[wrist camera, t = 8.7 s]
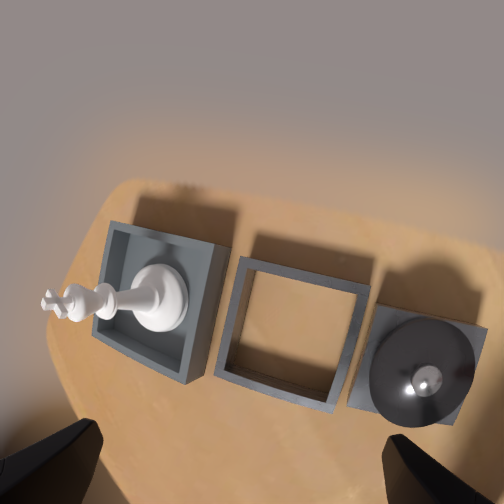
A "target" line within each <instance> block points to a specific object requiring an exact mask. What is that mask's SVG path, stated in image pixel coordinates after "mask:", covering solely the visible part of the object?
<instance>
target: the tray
mask: <svg viewBox="0 0 504 504" xmlns="http://www.w3.org/2000/svg"><path fill="white" fill-rule="evenodd" d="M230 253H231V248H229V247H225V246H221V245H217V244H213V243H209V242H204V241H200V240H195V239H191V238H187V237H182V236H178V235H173V234H169V233H164V232H160V231H156V230H151V229H147V228H142V227H138V226H134V225H129V224H125V223H120V222H116V221H110V226H109V230H108V235H107V239H106V244H105V249H104V254H103V259H102V265H101V270H100V276H99V282H98V285H99V284H101V283H108V284H110V285H111V286H112V287H113V288H114V290H115V291H116V292H120V291H125V290H130V289H131V285H132V282H133V280H134V278H135V276H136V275H137V273H138V272H139V271H140V270H141V269H143V268H144V267H146V266H149V265H154V264H166V265H169V266H171V267H172V268H174V269H175V270H176V271H177V272H178V273H179V274H180V275H181V276H182V278H183V280H184V282H185V284H186V287H187V291H188V309H187V312H186V315H185V317H184V319H183V321H182V322H181V323H180V324H179V325H178V326H177V327H176V328H175V329H173V330H170V331H167V332H155V331H151V330H149V329H147V328H145V327H144V326H143V325H141V324H140V323H139V321H138V320H137V319H136V317H135V315H134V313H133V311H132V310H122V309H117V312H116V314H115V315H114V317H113V318H111V319H109V320H105V319H102V318H100V317H98V316H97V315H96V313H94V318H93V327H92V336H93V337H95V338H97V339H98V340H100V341H102V342H103V343H105V344H107V345H108V346H110V347H112V348H114V349H115V350H117V351H119V352H121V353H123V354H124V355H126V356H128V357H130V358H132V359H134V360H136V361H137V362H139V363H141V364H143V365H145V366H147V367H149V368H151V369H153V370H155V371H157V372H159V373H161V374H163V375H165V376H167V377H169V378H171V379H173V380H176V381H178V382H180V383H182V384H184V385H186V384H188V383H190V382H192V381H194V380H196V379H198V378H200V377H201V376H203V375H204V372H205V367H206V362H207V357H208V352H209V348H210V343H211V338H212V334H213V329H214V324H215V320H216V315H217V311H218V306H219V302H220V297H221V293H222V288H223V284H224V279H225V275H226V270H227V266H228V261H229V257H230Z"/></svg>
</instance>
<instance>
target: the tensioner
mask: <svg viewBox="0 0 504 504" xmlns="http://www.w3.org/2000/svg"><path fill="white" fill-rule="evenodd" d="M256 270H257V271H262V272H266V273H270V274H274V275H278V276H282V277H286V278H290V279H295V280H299V281H303V282H307V283H311V284H315V285H320V286H324V287H328V288H332V289H337V290H341V291H345V292H350V293H354V294H358V295H357V299H356V303H355V307H354V311H353V315H352V319H351V323H350V326H349V330H348V334H347V337H346V341H345V344H344V348H343V351H342V354H341V358H340V361H339V364H338V367H337V371H336V374H335V377H334V380H333V383H332V386H331V389H330V392H329V394H328V393H324V392H321V391H317V390H313V389H310V388H306V387H303V386H299V385H296V384H292V383H289V382H286V381H283V380H279V379H276V378H273V377H270V376H267V375H264V374H261V373H258V372H255V371H252V370H249V369H246V368H243V367H240V366H237V365H235V364H234V361H235V357H236V353H237V349H238V344H239V340H240V336H241V332H242V327H243V323H244V319H245V314H246V310H247V306H248V302H249V297H250V293H251V289H252V284H253V280H254V276H255V271H256ZM370 288H371V286H370V285H365V284H361V283H357V282H352V281H348V280H344V279H339V278H335V277H330V276H326V275H322V274H317V273H313V272H309V271H304V270H300V269H296V268H291V267H287V266H283V265H278V264H274V263H270V262H266V261H261V260H257V259H253V258H248V257H243V256H240V259H239V264H238V268H237V273H236V277H235V281H234V286H233V290H232V295H231V299H230V303H229V308H228V312H227V317H226V321H225V326H224V330H223V335H222V339H221V344H220V348H219V353H218V357H217V362H216V366H215V371H214V376H217V377H219V378H222V379H224V380H227V381H230V382H232V383H235V384H238V385H240V386H243V387H246V388H249V389H252V390H254V391H257V392H260V393H263V394H266V395H269V396H272V397H275V398H278V399H282V400H285V401H288V402H291V403H295V404H298V405H301V406H305V407H308V408H312V409H315V410H319V411H323V412H326V413H330V414H333V411H334V408H335V406H336V403H337V400H338V397H339V395H340V392H341V389H342V386H343V383H344V380H345V377H346V374H347V371H348V368H349V364H350V361H351V358H352V355H353V351H354V348H355V345H356V341H357V338H358V334H359V331H360V327H361V324H362V320H363V316H364V312H365V308H366V304H367V300H368V296H369V292H370ZM487 331H488V329H487V328H484V327H482V326H479V325H477V324H472V323H467V322H462V321H458V320H453V319H448V318H444V317H439V316H434V315H430V314H425V313H421V312H416V311H412V310H407V309H403V308H398V307H394V306H389V305H385V304H380V303H376V304H375V308H374V311H373V315H372V319H371V323H370V326H369V330H368V334H367V337H366V341H365V344H364V347H363V351H362V354H361V357H360V360H359V364H358V367H357V370H356V373H355V376H354V379H353V382H352V385H351V388H350V391H349V393H348V399H347V406H348V407H352V408H356V409H360V410H365V411H369V412H374V413H379V414H381V415H382V416H383V417H384V418H385V419H387V420H388V421H390V422H392V423H394V424H396V425H399V426H403V427H410V428H415V427H424V426H428V425H431V424H434V423H437V424H445V425H453V424H454V422H455V420H456V418H457V416H458V413H459V411H460V409H461V406H462V404H463V402H464V399H465V397H466V395H467V394H468V392H469V390H470V387H471V385H472V382H473V379H474V374H475V370H476V367H477V364H478V361H479V358H480V355H481V351H482V348H483V345H484V341H485V338H486V334H487Z"/></svg>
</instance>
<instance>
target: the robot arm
mask: <svg viewBox="0 0 504 504" xmlns="http://www.w3.org/2000/svg"><path fill="white" fill-rule="evenodd" d="M102 445H103V436H102V433H101V431H100V429H99V426H98V424H97V422H96V421H94V420H91V419H88V418H83V419H81V420H79V421H77V422H75V423H73V424H72V425H70V426H68V427H66V428H64V429H62V430H60V431H58V432H56V433H55V434H52V435H51V436H49V437H47V438H45V439H43V440H41V441H39V442H37V443H35V444H33V445H31V446H28V447H27V448H24V449H22V450H20V451H18V452H16V453H14V454H12V455H10V456H7V457H6V458H3V459H1V460H0V504H82V501H83V499H84V497H85V494H86V492H87V489H88V487H89V485H90V483H91V480H92V478H93V475H94V472H95V468H96V465H97V461H98V458H99V455H100V452H101V449H102ZM382 464H383V471H384V478H385V486H386V494H387V500H388V504H495V503H493V502H492V501H490V500H489V499H487V498H486V497H484V496H483V495H481V494H480V493H479V492H476V490H474V489H473V488H472V487H470V486H469V485H468V484H466V483H465V482H464V481H462V480H461V479H460V478H458V477H457V476H456V475H454V474H453V473H452V472H450V471H449V470H448V469H446V468H445V467H444V466H442V465H441V464H440V463H439V462H437V461H436V460H435V459H433V458H432V457H431V456H430V455H428V454H427V453H426V452H424V451H423V450H422V449H421V448H419V447H418V446H417V445H416V444H414V443H413V442H412V441H411V440H409V439H408V438H407V437H406V436H404V435H403V434H397V435H391V436H389V437H388V439H387V442H386V444H385V447H384V449H383V452H382Z"/></svg>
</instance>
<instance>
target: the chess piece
mask: <svg viewBox="0 0 504 504" xmlns="http://www.w3.org/2000/svg"><path fill="white" fill-rule="evenodd" d="M46 297H47V298H43V299H42V302H41V306H42V308H43V310H54V311H55V313H56V315H57V316H58V318H59V319H65V318H66V317H67V316H68V318H69V319H70V320H72V321H74V322H79V321H81V320H83V319H85V318H87V317H88V316H90V315H92V314H94V313H96V315H97V316H98V317H100V318H102V319H105V320H109V319H111V318H113V317H114V315H115V314H116V312H117V309H122V310H132V311H133V313H134V315H135V317H136V319H137V320H138V321H139V323H140V324H141V325H143V326H144V327H145V328H147V329H149V330H151V331H155V332H167V331H170V330H173V329H175V328H176V327H177V326H178V325H179V324H180V323H181V322H182V321H183V319H184V317H185V315H186V312H187V309H188V291H187V287H186V284H185V282H184V280H183V278H182V276H181V275H180V274H179V273H178V272H177V271H176V270H175V269H174V268H172V267H171V266H169V265H166V264H154V265H149V266H146V267H144V268H143V269H141V270H140V271H139V272H138V273H137V275H136V276H135V278H134V280H133V282H132V285H131V289H130V290H125V291H120V292H116V291H115V290H114V288H113V287H112V286H111V285H110V284H108V283H101V284H99V285H97V286H96V287H95V289H94V291H92V290H89V289H87V288H85V287H83V286H81V285H79V284H70V285H69V286H68V287H67V288H66V290H65V292H64V296H63V297H59V296H58V294H57V293H56V291H55V289H48V290H47V292H46Z"/></svg>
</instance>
